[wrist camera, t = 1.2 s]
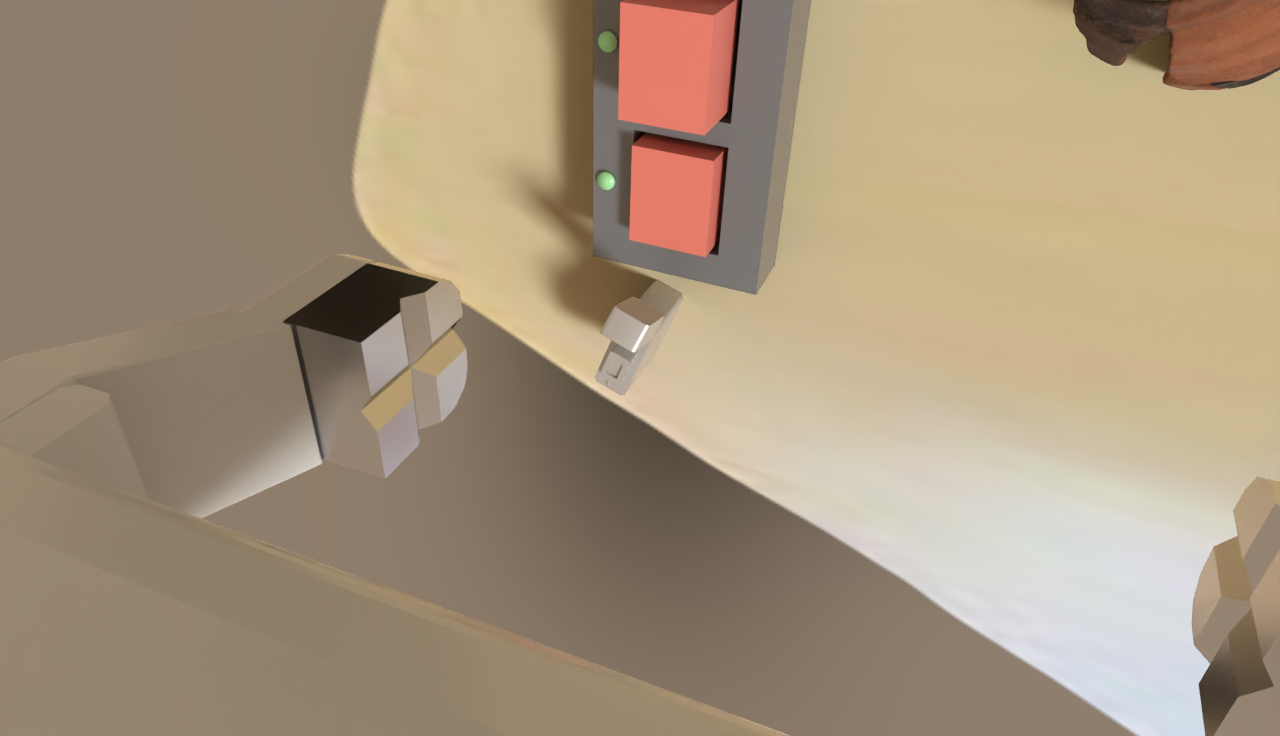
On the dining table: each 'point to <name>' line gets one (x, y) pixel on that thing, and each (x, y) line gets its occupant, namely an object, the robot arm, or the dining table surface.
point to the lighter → (636, 334)
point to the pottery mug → (1189, 37)
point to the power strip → (748, 129)
